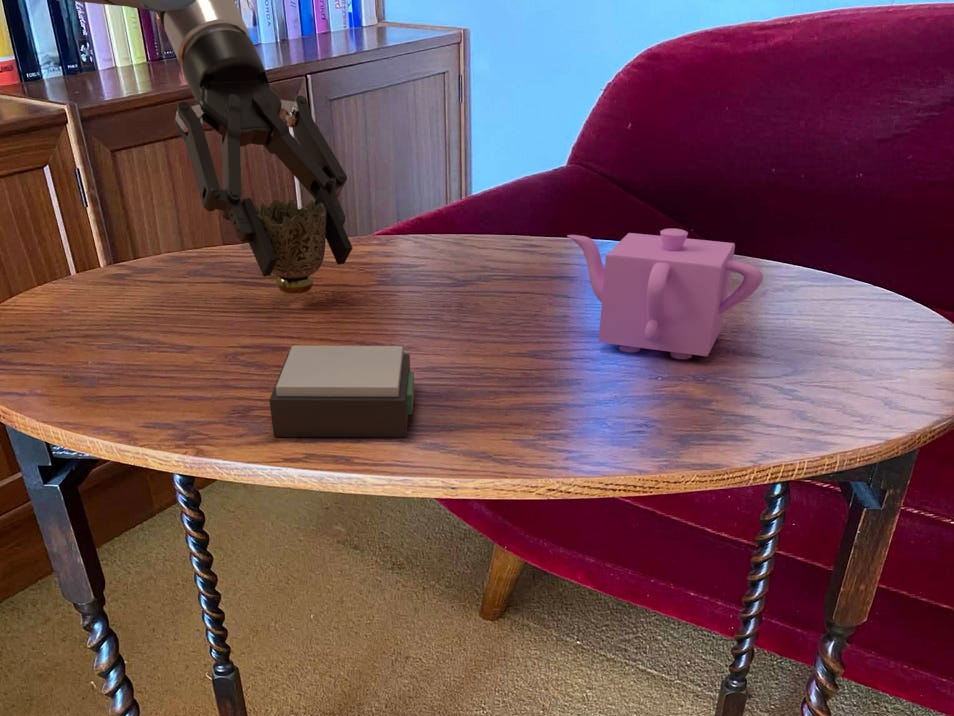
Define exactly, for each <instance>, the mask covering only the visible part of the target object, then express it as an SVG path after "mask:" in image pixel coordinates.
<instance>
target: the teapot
mask: <svg viewBox="0 0 954 716" xmlns="http://www.w3.org/2000/svg"><path fill="white" fill-rule="evenodd" d="M688 235H689V232H688V231H686V230H684V229H680V228H664V229H662V230H660V235H655V234H643V233H634V232H628V233H627V234H626V235H625V236H624V237H623V238H622V239H620V241H619V242H618V243H617V244H616V245H615V246H613V248H612V249H610V251H609V252H607V253H606V255H605V259H604V260H605V263H604V264H603V260H602V257H601V253H600V250H599V247H598V246H597V244H596V243H595V241H594V240H593V239H592V238H591V237H588V236H585V235H579V234H567V235H566V236H567V238H568V239H570V240H572V241H573V242H574V243H575V244H577V245H578V246H579V247H580V249H581V250H582V252H583V255H584V257H585V261H586V264H587V269H588V270H587V271H588V279H589V282H590V286H591V289H592V292H593V294H594V295H595V297H596V299H597V300H598V301H599V302H600V303H601V308H600V319H599V329H598V330H599V332H598V341H597V342H598V343H602V344H610V345H616V346H619V350H620V351H621V352H624V353H638V352H640V351H641V349H647V350H656V351H662V352H669V356H670V357H671V358H673V359H676V360H689V359H691V358H692V357H693V355H695V356H702V357H709V355H710V353H711V351H712V349H713V346H714V344H715V343H716V341H717V339H718V337H719V334H720V332H721V331H722V328H723V322H724V318H725V312H726V311H728V310H731V309H732V308H733V307H735V306H737V305H738V304H740V303H742V302H743V301H745V300H746V299H748V298H749V297H750V296H752V295H753V294H754V293H755V292H756V291H757V290H758V288H759V287H760V286H761V284H762V282H763V279H764V275H763V272H762V271H761V269H760V268H758V267H756V266H754V265H752V264H749V263H746V262H742V261H738V260H734V255H735V248H736V244H735V243H734V242H725V241H718V240H717V241H716V240H706V239H696V238H688ZM732 272H734V273H738V274H740V275H741V276H742V277H743V279H742V282H741V284H740V285H739V286H738V287H737V288H736V289H735V290H734V292H733V293H731V295H730V296H728V292H729V286H730V281H731V280H730V279H731V273H732Z"/></svg>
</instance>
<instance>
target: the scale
mask: <svg viewBox="0 0 954 716" xmlns="http://www.w3.org/2000/svg"><path fill="white" fill-rule="evenodd" d="M410 355H411V354H410V353H404V346H402V345H292V346H291V348H290V350H289V352H288V353H287V355H286V357H285V360H284V363H283V364H282V367H281V369H280V372H279V375H278V377H277V380H276V383H275V385H274V387H273V390H272V393H271V395H270V398H269V400H268V401H269V407H270V408H269V410H270V416H271V423H272V433H273V437H274V438H407V434H408V433H407V432H408V421H409V415H413V411H414V398H415V372H414V371H411V356H410Z"/></svg>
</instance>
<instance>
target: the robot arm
mask: <svg viewBox="0 0 954 716" xmlns="http://www.w3.org/2000/svg"><path fill="white" fill-rule="evenodd" d="M56 1H57V2H61V1H62V0H56ZM69 1H70V2H79V3H89V4H96V5H107V6H117V7H128V8H132V9H141V10H147V11H150V12H154V13H156V15H157V17H158V19H159V21H160V23H161V25H162V28H163V29H164V32H165V34H166V36H167V38H168V41H169V42H170V45H171V47H172V49H173V52H174V55H175V57H176V59H177V61H178V63H179V66H181V68H182V73H183V75H184V77H185V80H186V82H187V84H188V87H189V89H190V91H191V94H192V96H193V98H194V100H195V102H196V103H197V104H194V105H191V104H189V103H188V102H185V101H180V102H179V103H178V105H177V110H176V114H175V119H174V124H173V125H174V128H175V129H176V130H177V132H178V133H179V135H180V136H181V138H182V139H183V140H184V142H185V147H186V149H187V152H188V156H189V160H190V164H191V167H192V170H193V174H194V177H195V182H196V185H197V189H198V192H199V196H200V200H201V203H202V206H203V208H204V209H205V210H206V211H207V212H214V211H215V210H219V211H221V216H222V218H223V219H225V220H227V221H230V223H231V225H232V227H233V229H234V232H235V234H236V236H237V239H239V241H240V242H241V243H248V244H249V247H250V249H251V251H252V254H253V256H254V258H255V261H256V263H257V265H258V267H259V270H260V272H261V274H262V276H263V277H270V276H272V271H273V269H274V266H275V264H276V262H277V257H276V255H275V252H274V250H273V248H272V245H271V243H270V241H269V239H268V236H267V234H266V232H265V230H264V227H263V225H262V223H261V220H260V218H259V216H258V214H257V211H256V209H255V207H254V205H255V204H254V202H253V200H252V198H251V197H247V198H243V199H241V198H242V171H241V167H242V165H241V162H242V161H241V147H246V146H249V145H257V146H263V148H264V149H266V150H267V152H268V153H269V154H270V155H275V156H276V157H277V158H278V159H279V160H280V161H281V163H282V164H283V165H284V166H285V167H286V168H287V169H288V170H289V172H291V174H292V175H293V176H294V178H295V179H296V180H297V181H298V182H299V183H300V184H301V185H302V186H303V188H304V189H305V190H306V191H307V192H308V193H309V194H310V196H311V197H313V199H314V201H313V202H314V203H315V206H316V205H318V204H319V203H323V205H324V208H326V209H327V213H326V239H325V241H326V243H327V245H328V246H329V249H330V251H331V253H332V255H333V258H334V260H335V262H336V264H337V265H345V264H346V262H347V259H348V258H349V256H350V254H351V252H352V250H353V246H352V243H351V240H350V239H349V236H348V235H347V231H346V230H345V227H344V225H345V222H346V214H345V213H344V211H343V208H342V205H341V203H340V201H339V199H338V197H339V196H340V194H341V192H342V191H343V189H344V187H345V185H346V182H347V180H348V176H347V174H346V172H345V170H344V169H343V167H342V165H341V163H340V162H339V160H338V159H337V157H336V155H335V153H334V152H333V150H332V149H331V147H330V146H329V144H328V141H326V139H325V137H324V135H323V134H322V131H321V130H320V128H319V127H318V125H317V124H316V122H315V120H314V118H313V117H312V115H311V109H310V106H309V101H308V100H307V98H306V96H303V95H297V96H296V97H295V99H294V101H293V100H285V99H281V98H280V96H279V95H278V94H277V92H275V91H274V89H273V88H272V87H271V85H270V82H269V78H268V74H267V71H266V69H265V66H264V64H263V61H262V59H261V57H260V55H259V53H258V50H257V48H256V46H255V44H254V42H253V40H252V39H251V34H250V32H249V29H248V27H247V25H246V23H245V21H244V19H243V16H242V14H241V11H240V10H239V8H238V5H237V3H236V1H235V0H69ZM281 116H282V117H284V119H285V120H286V122H285V120H284V119H283V118H282V117H281ZM203 124H206V125H207V126H208V127H210V128H211V130H213V131H215V132H216V133H217V134H219V135H220V152H221V153H220V154H221V155H222V157H221V158H222V188H221V185H220V183H219V180H218V176H217V172H216V168H215V165H214V161H213V158H212V155H211V151H210V147H209V144H208V140H207V137H206V132H205V129H204V127H203ZM289 128H292V132H293V133H294V136H295V137H294V136H293V134H291V133H290V129H289ZM323 205H322V206H323Z"/></svg>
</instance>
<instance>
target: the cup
mask: <svg viewBox="0 0 954 716" xmlns="http://www.w3.org/2000/svg"><path fill="white" fill-rule="evenodd" d="M314 202H315V201H314V200H310V201H308V202H307V203H306V207H305V208H304V207H303V206H301V207H300V208H298V207H297V202H296V201H295V200H294V199H289V200H288V202H287V203H286V202H285V201H284V202H283V201H281V200H278V199H274V200H272V202H271V203H270V204H269V206H268V204H265V203H263V201H262V202H260V208H259V207H258V206H257V205H255V204H253V205H254V207H255V209H256V211H257V214H258V216H259V218H260V220H261V223H262V225H263V227H264V230H265V232H266V234H267V236H268V239H269V241H270V243H271V245H272V248H273V250H274V252H275V255H276V257H277V262H276V264H275V266H274V269H273V271H272V273H271V275H274V276H276V282H275V283H276V286H277V288H278V290H279V291H280V292H282V293H284V294H289V295H300V294H304V293H307V292H309V291H311V290H312V288H313V284H314V280H313V277H312V275H314V274H315V273H317V272H318V271H319V269H320V268H321V266H322V264H323V262H324V258H325V253H326V213H327V209H326V208H324V205H323V203H319V204H318V205H316V206H315V203H314ZM322 205H323V206H322Z"/></svg>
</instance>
